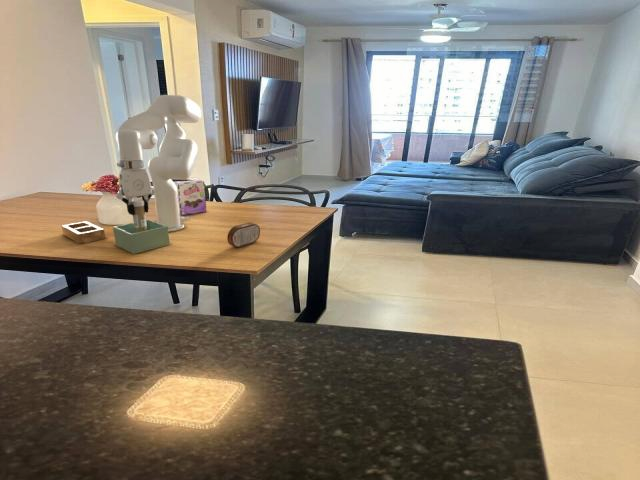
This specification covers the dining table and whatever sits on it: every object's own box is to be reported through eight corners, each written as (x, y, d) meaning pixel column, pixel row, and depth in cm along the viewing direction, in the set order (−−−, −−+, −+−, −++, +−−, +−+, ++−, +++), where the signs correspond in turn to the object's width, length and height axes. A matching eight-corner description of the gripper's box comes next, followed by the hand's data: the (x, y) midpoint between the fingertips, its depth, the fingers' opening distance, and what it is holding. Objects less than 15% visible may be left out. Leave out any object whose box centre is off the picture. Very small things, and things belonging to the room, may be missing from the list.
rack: (87, 229, 166) (86, 221, 164) (105, 238, 155) (104, 229, 154) (63, 234, 159) (61, 225, 157) (80, 244, 148) (78, 234, 147)
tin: (256, 239, 159) (255, 220, 156) (261, 241, 157) (261, 221, 154) (227, 248, 148) (226, 227, 145) (232, 250, 146) (231, 229, 143)
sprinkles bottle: (148, 235, 147) (144, 201, 143) (136, 237, 145) (131, 202, 141) (146, 232, 151) (142, 198, 147) (134, 233, 148) (129, 200, 144)
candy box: (180, 216, 191) (177, 183, 185) (176, 213, 195) (173, 181, 190) (206, 212, 199) (204, 180, 194) (202, 209, 203) (199, 179, 198)
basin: (151, 236, 159) (148, 219, 157) (169, 244, 150) (167, 226, 148) (115, 245, 148) (112, 226, 146) (133, 253, 140) (131, 234, 137)
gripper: (113, 168, 131) (120, 219, 137) (159, 164, 143) (164, 211, 149) (103, 165, 135) (111, 215, 141) (149, 162, 148) (154, 207, 154)
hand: (138, 212), depth 145 cm, fingers closed on sprinkles bottle, 4 cm apart
